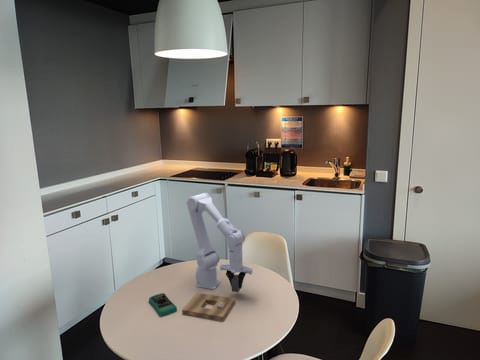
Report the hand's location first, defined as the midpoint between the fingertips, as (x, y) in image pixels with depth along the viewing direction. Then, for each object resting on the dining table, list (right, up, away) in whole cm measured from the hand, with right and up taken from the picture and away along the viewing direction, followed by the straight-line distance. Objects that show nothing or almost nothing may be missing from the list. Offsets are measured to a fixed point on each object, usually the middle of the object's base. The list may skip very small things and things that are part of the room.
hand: (236, 286), depth 160 cm
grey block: (0, -1, 0) cm, 2 cm away
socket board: (-12, -7, -9) cm, 16 cm away
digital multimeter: (-32, -7, -6) cm, 33 cm away
